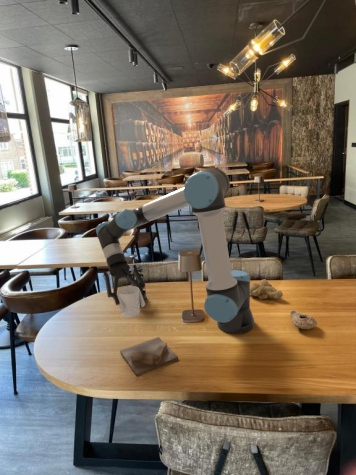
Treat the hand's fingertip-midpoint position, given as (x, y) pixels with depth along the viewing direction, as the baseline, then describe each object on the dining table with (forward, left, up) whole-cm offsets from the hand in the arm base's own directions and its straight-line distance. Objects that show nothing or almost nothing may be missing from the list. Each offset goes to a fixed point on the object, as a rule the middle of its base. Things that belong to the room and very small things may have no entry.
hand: (133, 308), depth 128 cm
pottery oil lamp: (-59, -30, -15) cm, 68 cm away
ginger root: (-41, -54, -15) cm, 69 cm away
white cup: (+3, -2, -4) cm, 5 cm away
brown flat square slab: (-8, +6, -15) cm, 18 cm away
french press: (+18, -36, -15) cm, 43 cm away
